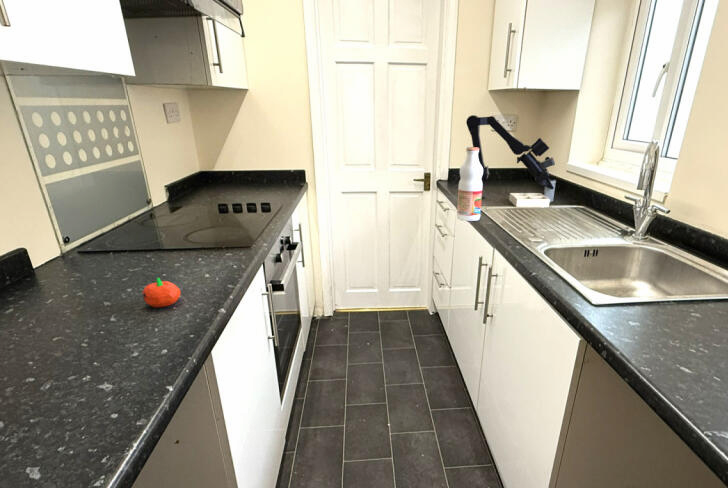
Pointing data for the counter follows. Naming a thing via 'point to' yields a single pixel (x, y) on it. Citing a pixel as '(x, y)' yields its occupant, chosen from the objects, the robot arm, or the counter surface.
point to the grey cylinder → (550, 190)
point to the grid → (529, 200)
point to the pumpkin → (161, 293)
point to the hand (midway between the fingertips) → (552, 187)
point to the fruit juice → (470, 187)
